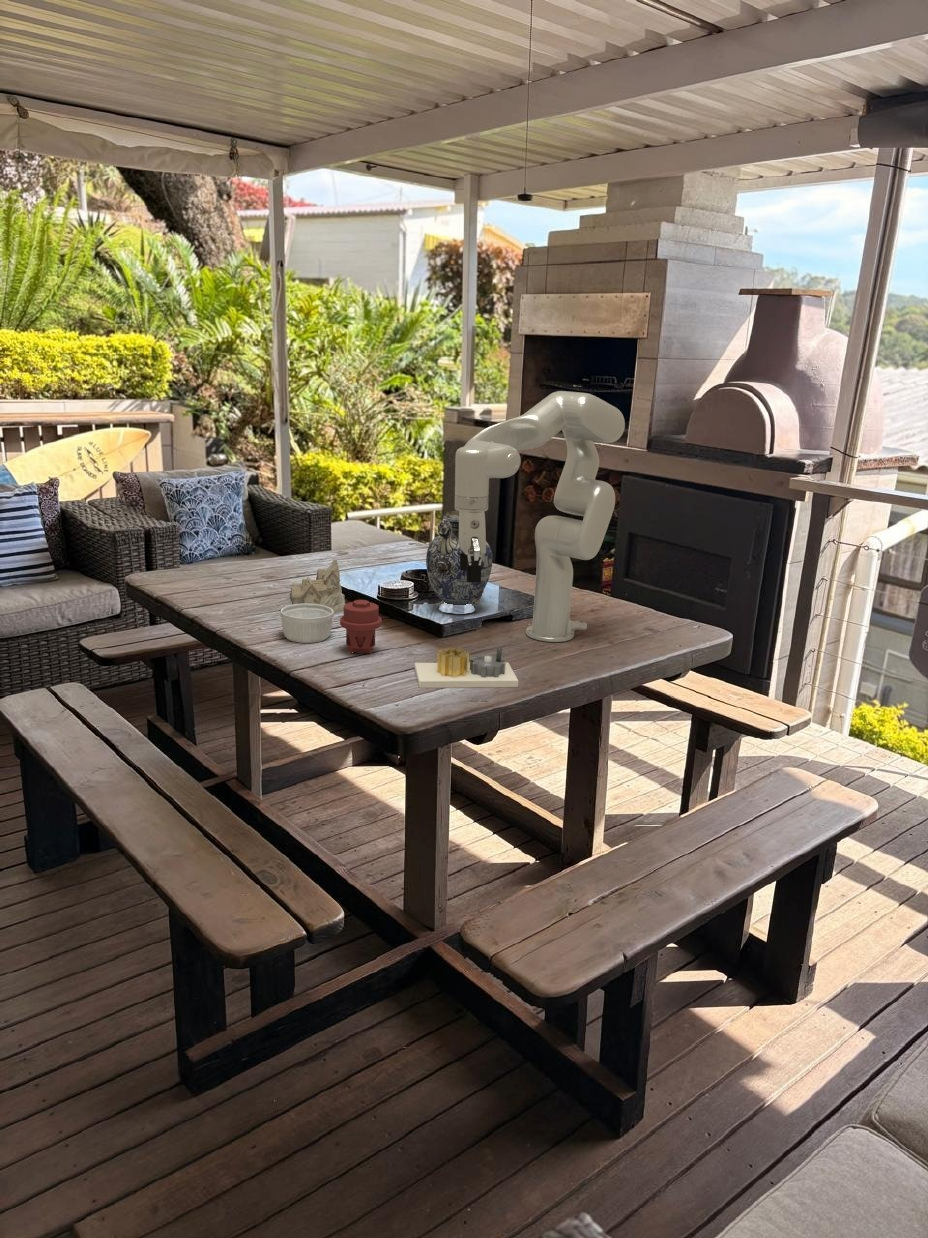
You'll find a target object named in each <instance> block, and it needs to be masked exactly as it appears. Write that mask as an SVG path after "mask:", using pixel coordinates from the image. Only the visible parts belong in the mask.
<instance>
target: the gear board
mask: <svg viewBox="0 0 928 1238" xmlns="http://www.w3.org/2000/svg"><path fill="white" fill-rule="evenodd" d="M502 656H503V648H502V647H496V657H495V656H494V655H483V656H482V655H476V657H475V658H474V657H473V658H472V657H471V658H469V669H468V672H467V673H466V675H465V676H462V675H460V676H457V677H452V676H447V675H446V676H442V675H441V672H439V673H437V662H414V672H415V675H416V679H417V683H418V687H419V689H433V688H434V689H436V688H439V689H440V688H441V689H442V688H446V689H447V688H457V689H459V688H519V679H518V678H517V675H516V674H515V672H514V670H513V668H512V667H511V665H510V662H505V658H502Z"/></svg>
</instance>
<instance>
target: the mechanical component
mask: <svg viewBox="0 0 928 1238" xmlns="http://www.w3.org/2000/svg"><path fill="white" fill-rule="evenodd" d="M379 609H380V608H379V605H378V604H376V603H374V602H370V601H369V600H367V599H356V600H353V601H351V602H347V603H345V605H344V611H343V615H342V616H340V618H339V625H340V626H341V627H342V628H344V629H345V631H346V633H345V635H346V636H345V637H346V638H345V644H346V646H347V652H348V653H349V652H350V653H349V654H355V653H354V652H364V653H363V654H368V653H370V654H373V651H374V647H375V645H376V630H377V629H379V628H381V627H382V625H383V620H382V617H381V616H379V611H380V610H379ZM352 652H353V653H352Z"/></svg>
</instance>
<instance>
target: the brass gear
mask: <svg viewBox="0 0 928 1238" xmlns="http://www.w3.org/2000/svg"><path fill="white" fill-rule="evenodd" d="M436 656H437V657H436V663H437V673H439V672H441V675H442V676H446V675H447V676H452V677H457V676H460V675H462V676H465V675H466V673H467V672H468V669H469V663H470V652H469V651H465V649H463V648H454V647H449V648H445V649H444V648H441V649H439V651H437V655H436Z"/></svg>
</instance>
